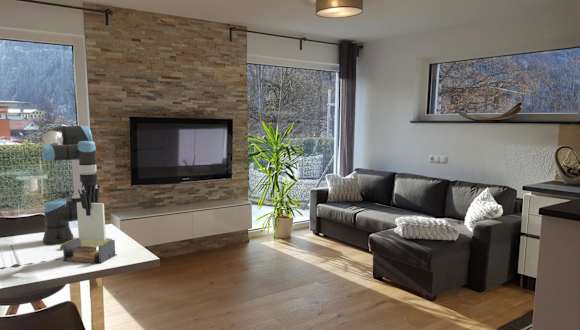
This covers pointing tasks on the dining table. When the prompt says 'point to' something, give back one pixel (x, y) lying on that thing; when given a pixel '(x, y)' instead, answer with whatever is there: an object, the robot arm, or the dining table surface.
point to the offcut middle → (87, 255)
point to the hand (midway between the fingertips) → (91, 221)
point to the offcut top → (84, 249)
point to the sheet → (94, 228)
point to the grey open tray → (90, 242)
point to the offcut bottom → (84, 259)
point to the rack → (104, 250)
